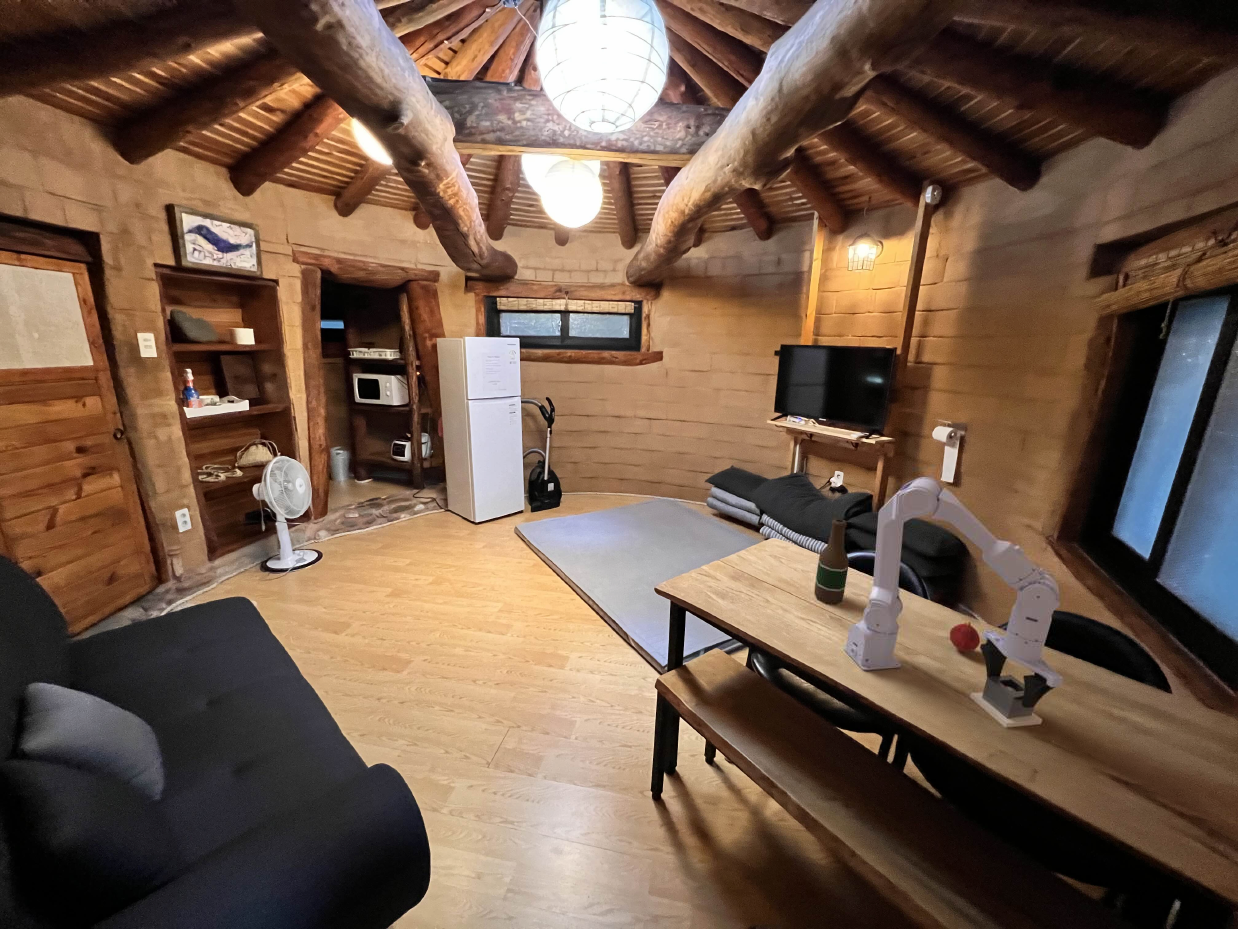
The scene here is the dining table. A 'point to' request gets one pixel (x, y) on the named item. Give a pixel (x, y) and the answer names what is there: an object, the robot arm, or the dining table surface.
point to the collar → (1006, 696)
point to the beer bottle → (832, 567)
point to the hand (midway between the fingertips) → (1009, 692)
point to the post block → (1001, 718)
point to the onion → (964, 637)
